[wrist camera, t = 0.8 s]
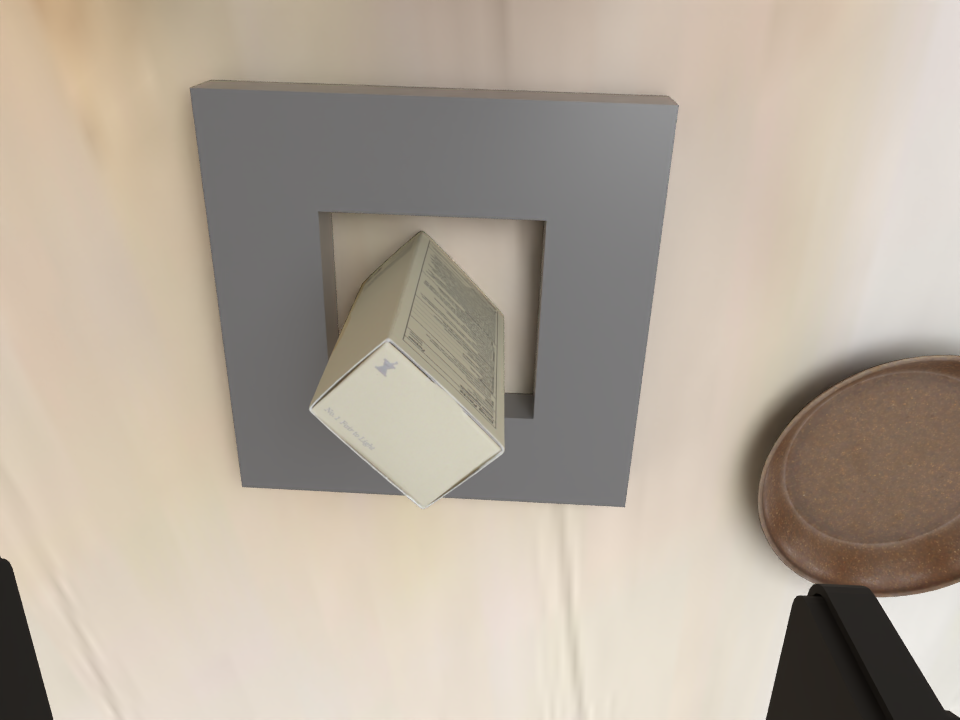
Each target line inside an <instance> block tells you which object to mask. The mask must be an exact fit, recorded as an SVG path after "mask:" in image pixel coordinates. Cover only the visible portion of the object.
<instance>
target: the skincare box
mask: <svg viewBox="0 0 960 720" xmlns="http://www.w3.org/2000/svg"><path fill="white" fill-rule="evenodd" d="M309 411H310V412H311V413H312V414H313V415H314V416H315V417H316V418H317V419H318V420H319V421H320V422H321V423H323V424H324V425H325V426H326V427H327V428H328V429H329V430H330V431H331V432H332V433H333V434H335V435H336V436H337V437H338V438H339V439H340V440H341V441H342V442H344V443H345V444H346V445H347V446H348V447H349V448H350V449H352V450H353V451H354V452H355V453H356V454H357V455H358V456H359V457H361V458H362V459H363V460H364V461H366V462H367V463H368V464H369V465H370V466H371V467H372V468H373V469H374V470H376V471H377V472H378V473H379V474H381V475H382V476H383V477H384V478H385V479H386V480H388V481H389V482H390V483H391V484H392V485H394V486H395V487H396V488H397V489H398V490H400V491H401V492H402V493H403V494H404V495H405V496H407V497H408V498H409V499H410V500H411V501H413V502H414V503H415V504H416V505H418V506H419V507H420V508H422V509H425V508H427V507H429V506H430V505H432V504H433V503H435V502H436V501H437V500H439V499H440V498H442V497H443V496H445V495H446V494H448V493H449V492H450V491H452V490H453V489H455V488H456V487H458V486H459V485H461V484H462V483H463V482H465V481H466V480H467V479H469V478H470V477H472V476H473V475H475V474H476V473H478V472H479V471H480V470H482V469H483V468H484V467H486V466H487V465H488V464H490V463H491V462H492V461H494V460H495V459H497V458H498V457H499V456H501V455H502V454H503V453H504V451H505V440H504V316H503V314H502V313H501V312H500V311H499V310H498V309H497V307H496V306H495V305H494V304H493V303H492V302H491V301H490V300H489V299H488V298H487V296H486V295H485V294H484V293H483V292H482V291H481V290H480V289H479V288H478V287H477V286H476V285H475V284H474V283H473V282H472V281H471V279H470V278H469V277H468V276H467V275H466V274H465V273H464V272H463V271H462V270H461V269H460V268H459V267H458V266H457V265H456V264H455V263H454V262H453V261H452V259H451V258H450V257H449V256H448V255H447V254H446V253H445V252H444V251H443V250H442V249H441V248H440V247H439V246H438V245H437V244H436V243H435V242H434V241H433V240H432V239H431V238H430V237H429V236H428V235H427V234H426V233H424V232H422V231H421V232H419V233H418V234H417V235H416V236H414V237H413V238H412V239H411V240H410V241H409V242H407V243H406V244H405V245H404V246H403V247H402V248H400V249H399V250H398V251H397V252H396V253H395V254H394V255H392V256H391V257H390V258H389V259H388V260H387V261H386V262H385V263H384V264H382V265H381V266H380V267H379V268H378V269H377V270H376V271H375V272H374V273H373V274H372V275H371V276H370V277H369V278H368V279H367V280H366V281H365V282H364V283H363V284H362V286H361V288H360V290H359V293H358V295H357V297H356V299H355V301H354V304H353V306H352V309H351V311H350V313H349V315H348V317H347V320H346V322H345V324H344V326H343V329H342V331H341V333H340V336H339V338H338V340H337V342H336V345H335V347H334V349H333V351H332V354H331V356H330V359H329V361H328V363H327V366H326V368H325V370H324V373H323V375H322V377H321V379H320V382H319V384H318V387H317V389H316V392H315V394H314V396H313V399H312V401H311V403H310V406H309Z"/></svg>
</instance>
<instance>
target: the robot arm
mask: <svg viewBox="0 0 960 720" xmlns="http://www.w3.org/2000/svg"><path fill="white" fill-rule="evenodd" d="M0 720H53V716H52V713H51V709H50V705H49V701H48V698H47V694H46V690H45V687H44V683H43V679H42V676H41V672H40V668H39V664H38V661H37V657H36V653H35V650H34V646H33V642H32V639H31V635H30V631H29V628H28V624H27V620H26V616H25V613H24V609H23V605H22V602H21V598H20V594H19V591H18V587H17V583H16V580H15V576H14V572H13V569H12V566H11V564H10V562H8V561H7V560H6V559H2V558H1V557H0ZM766 720H960V718H959V717H958V716H956V715H955V714H953V713H952V712H950V711H947V710H944V708H943V707H942V705H941V704H940V702H939V700H938V699H937V697H936V695H935V694H934V692H933V690H932V689H931V687H930V685H929V684H928V682H927V681H926V679H925V677H924V676H923V674H922V672H921V671H920V669H919V667H918V666H917V664H916V662H915V661H914V659H913V657H912V656H911V654H910V653H909V651H908V649H907V648H906V646H905V644H904V643H903V641H902V639H901V638H900V636H899V634H898V633H897V631H896V630H895V628H894V626H893V625H892V623H891V621H890V620H889V618H888V616H887V615H886V613H885V611H884V610H883V608H882V606H881V605H880V603H879V602H878V600H877V598H876V597H875V595H874V594H873V592H872V591H871V590H870V589H869V588H868V587H866V586H861V585H839V584H814V585H813V586H812V587H811V588H810V589H809V592H808V595H807V596H796V598H795V599H794V601H793V604H792V608H791V612H790V617H789V621H788V625H787V630H786V634H785V638H784V643H783V647H782V652H781V656H780V660H779V665H778V669H777V673H776V678H775V682H774V686H773V691H772V695H771V700H770V704H769V708H768V713H767V717H766Z"/></svg>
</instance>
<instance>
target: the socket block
mask: <svg viewBox="0 0 960 720" xmlns="http://www.w3.org/2000/svg"><path fill="white" fill-rule="evenodd" d="M190 93H191V100H192V108H193V115H194V123H195V131H196V138H197V146H198V154H199V161H200V169H201V176H202V184H203V192H204V199H205V207H206V215H207V222H208V230H209V237H210V245H211V253H212V260H213V268H214V275H215V283H216V291H217V298H218V306H219V314H220V321H221V329H222V336H223V344H224V352H225V359H226V367H227V375H228V382H229V390H230V397H231V405H232V413H233V420H234V428H235V435H236V443H237V451H238V458H239V466H240V474H241V481H242V487H253V488H272V489H291V490H310V491H329V492H348V493H367V494H386V495H404V494H403V493H402V492H401V491H400V490H398V489H397V488H396V487H395V486H394V485H392V484H391V483H390V482H389V481H388V480H386V479H385V478H384V477H383V476H382V475H381V474H379V473H378V472H377V471H376V470H374V469H373V468H372V467H371V466H370V465H369V464H368V463H367V462H366V461H364V460H363V459H362V458H361V457H359V456H358V455H357V454H356V453H355V452H354V451H353V450H352V449H350V448H349V447H348V446H347V445H346V444H345V443H344V442H342V441H341V440H340V439H339V438H338V437H337V436H336V435H335V434H333V433H332V432H331V431H330V430H329V429H328V428H327V427H326V426H325V425H324V424H323V423H321V422H320V421H319V420H318V419H317V418H316V417H315V416H314V415H313V414H312V413H311V412H310V411H309V406H310V403H311V401H312V399H313V396H314V394H315V392H316V389H317V387H318V384H319V382H320V379H321V377H322V375H323V373H324V370H325V368H326V366H327V363H328V361H329V359H330V356H331V354H332V351H333V349H334V347H335V345H336V342H337V340H338V338H339V330H338V313H337V296H336V279H335V262H334V245H333V228H332V212H344V213H369V214H394V215H418V216H443V217H467V218H492V219H517V220H541V221H544V233H543V249H542V264H541V280H540V295H539V311H538V326H537V341H536V357H535V372H534V388H533V394H516V393H504V440H505V451H504V453H503V454H502V455H501V456H499V457H498V458H497V459H495V460H494V461H492V462H491V463H490V464H488V465H487V466H486V467H484V468H483V469H482V470H480V471H479V472H478V473H476V474H475V475H473V476H472V477H470V478H469V479H467V480H466V481H465V482H463V483H462V484H461V485H459V486H458V487H456V488H455V489H453V490H452V491H450V492H449V493H448V494H446V495H445V496H443V498H462V499H481V500H500V501H519V502H538V503H557V504H576V505H595V506H614V507H625V502H626V495H627V487H628V480H629V473H630V465H631V458H632V450H633V443H634V435H635V428H636V420H637V413H638V405H639V398H640V390H641V383H642V376H643V368H644V361H645V353H646V346H647V338H648V331H649V323H650V316H651V308H652V301H653V293H654V286H655V278H656V271H657V264H658V256H659V249H660V241H661V234H662V226H663V219H664V211H665V204H666V196H667V189H668V181H669V174H670V167H671V159H672V152H673V144H674V137H675V129H676V122H677V114H678V107H679V105H678V104H677V103H676V102H675V101H674V100H672V99H671V98H670V97H669V96H653V95H625V94H596V93H568V92H540V91H511V90H483V89H454V88H426V87H397V86H369V85H340V84H312V83H283V82H255V81H227V80H210V81H207V82H204V83H202V84H199V85H196V86H194V87H191V88H190Z"/></svg>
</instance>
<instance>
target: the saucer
mask: <svg viewBox="0 0 960 720" xmlns="http://www.w3.org/2000/svg"><path fill="white" fill-rule="evenodd" d="M757 501H758V512H759V518H760V523H761V526H762V529H763V532H764V534H765V536H766V539H767V541H768V542H769V544H770V546H771V547H772V549H773V550H774V552H775V553H776V554H777V556H778V557H779V558H780V559H781V561H782V562H784V564H785V565H786V566H788V567H789V568H790V569H791V570H793V571H794V572H795V573H797V574H798V575H800V576H801V577H803V578H805V579H806V580H808V581H810V582H812V583H815V584H839V585H861V586H866V587H868V588H869V589H870V590H871V591H872V592H873V594H874V595H875V597H897V596H907V595H913V594H919V593H924V592H929V591H934V590H937V589H941V588H944V587H947V586H950V585H953V584H955V583H958V582H960V356H953V355H933V356H920V357H913V358H907V359H901V360H896V361H892V362H888V363H884V364H881V365H878V366H875V367H871V368H869V369H866V370H864V371H861V372H859V373H857V374H855V375H852V376H850V377H848V378H846V379H844V380H842V381H840V382H839V383H837V384H835V385H833V386H832V387H830V388H829V389H827V390H826V391H824V392H823V393H821V394H820V395H818V396H817V397H816V398H814V399H813V400H812V401H811V402H809V403H808V404H807V405H806V406H805V407H804V408H803V409H802V410H801V411H800V412H799V413H798V414H797V415H796V416H795V417H794V418H793V419H792V421H791V422H790V423H789V424H788V425H787V427H786V428H785V429H784V430H783V432H782V433H781V435H780V436H779V438H778V439H777V441H776V442H775V444H774V445H773V447H772V449H771V451H770V453H769V455H768V457H767V459H766V462H765V464H764V467H763V470H762V474H761V478H760V482H759V488H758V500H757Z"/></svg>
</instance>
